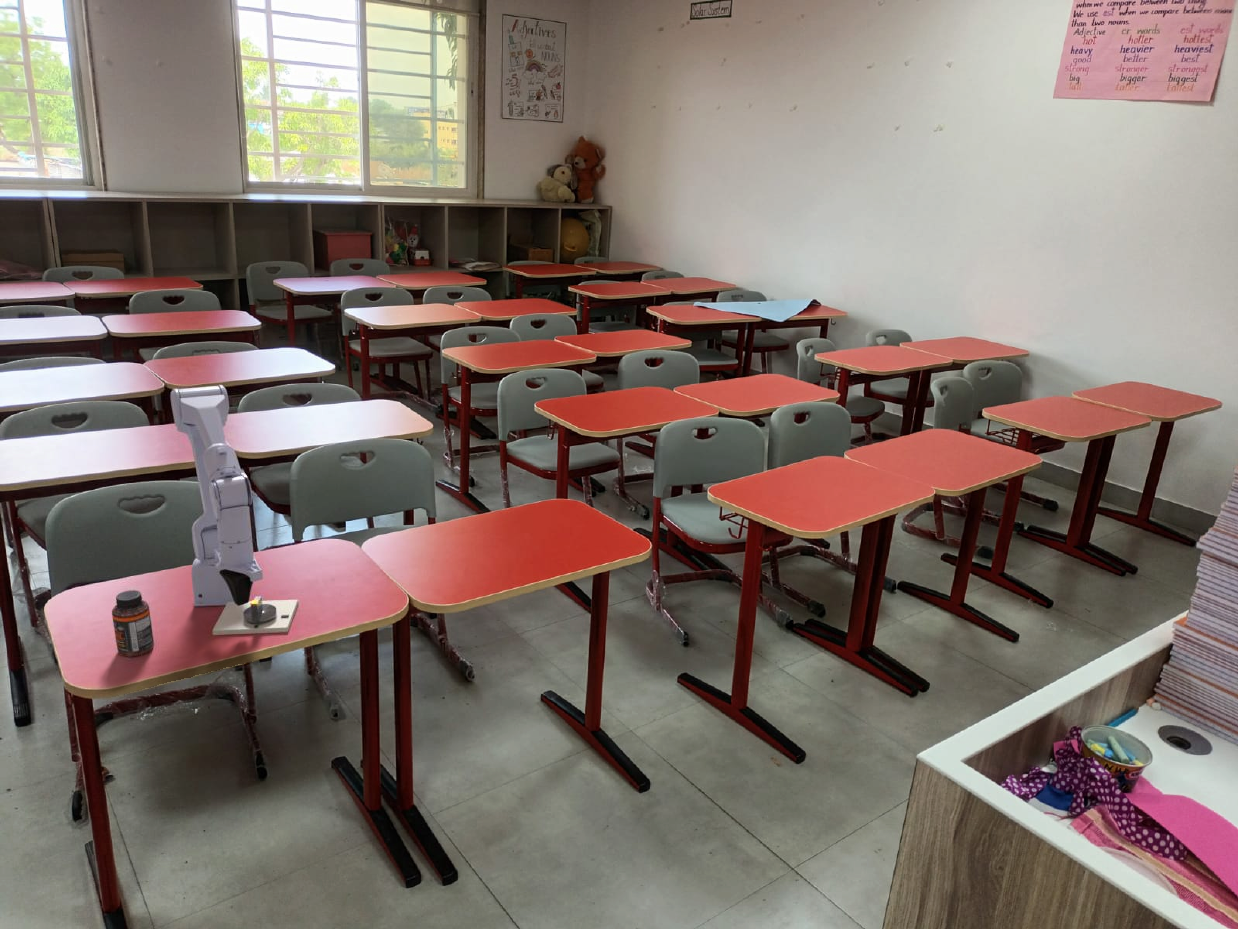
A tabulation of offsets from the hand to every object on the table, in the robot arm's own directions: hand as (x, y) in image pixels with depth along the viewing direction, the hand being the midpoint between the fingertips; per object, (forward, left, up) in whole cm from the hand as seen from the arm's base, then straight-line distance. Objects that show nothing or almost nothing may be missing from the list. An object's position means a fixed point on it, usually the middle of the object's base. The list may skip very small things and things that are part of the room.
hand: (241, 603), depth 166 cm
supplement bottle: (-17, -6, -6) cm, 19 cm away
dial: (+3, +2, -4) cm, 5 cm away
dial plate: (+2, +4, -6) cm, 7 cm away
